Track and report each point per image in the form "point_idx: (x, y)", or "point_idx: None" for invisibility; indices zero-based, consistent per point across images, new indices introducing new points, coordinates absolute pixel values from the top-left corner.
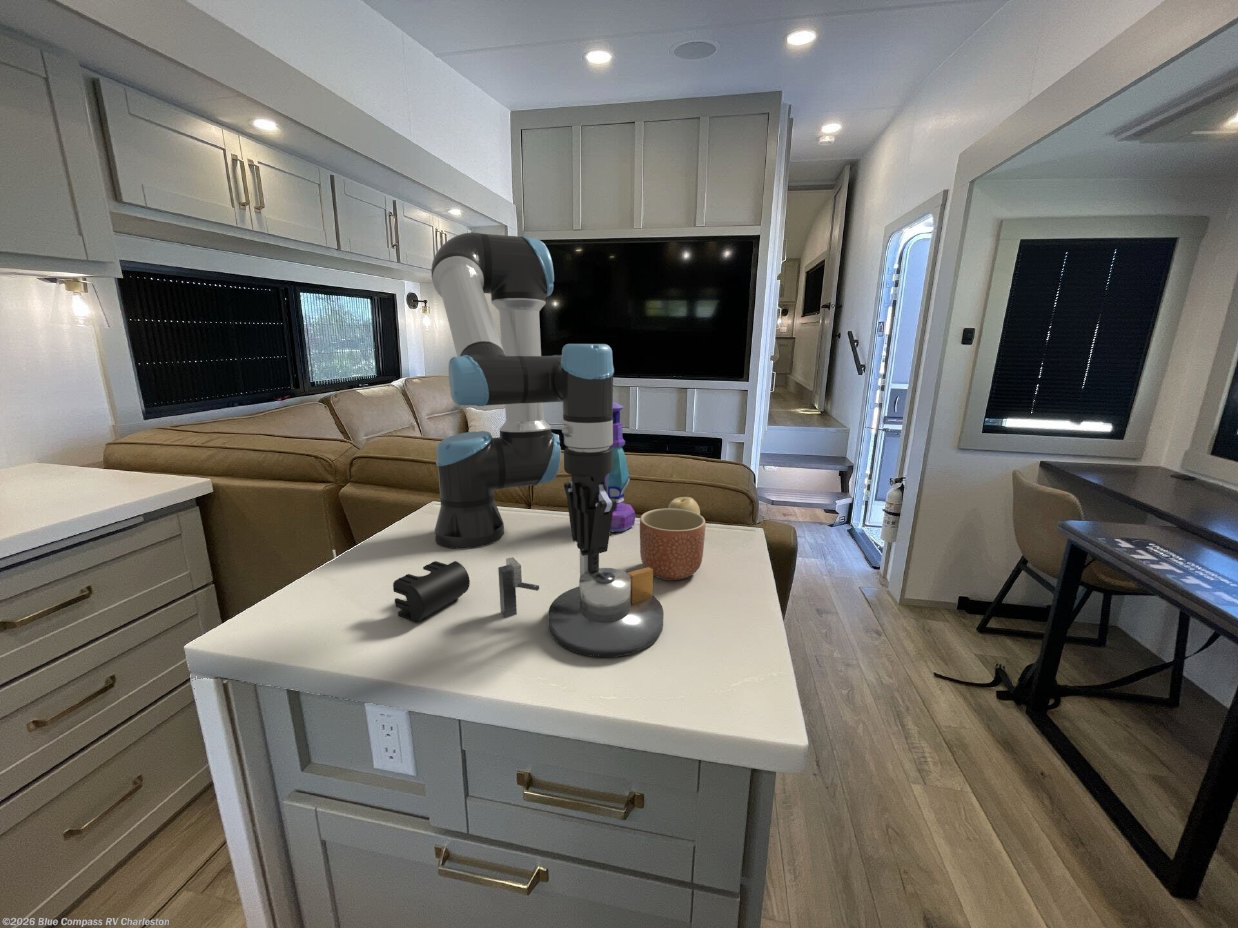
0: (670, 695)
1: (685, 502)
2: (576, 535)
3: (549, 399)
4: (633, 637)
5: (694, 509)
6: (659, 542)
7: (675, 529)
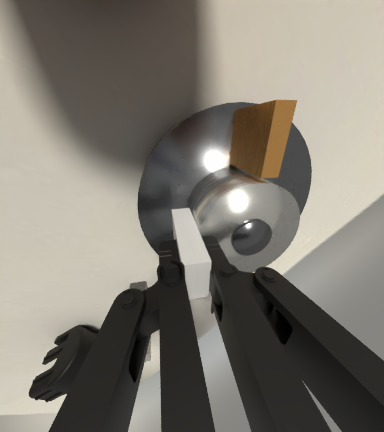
0: (346, 198)
1: None
2: (147, 340)
3: None
4: (299, 205)
5: None
6: None
7: None
